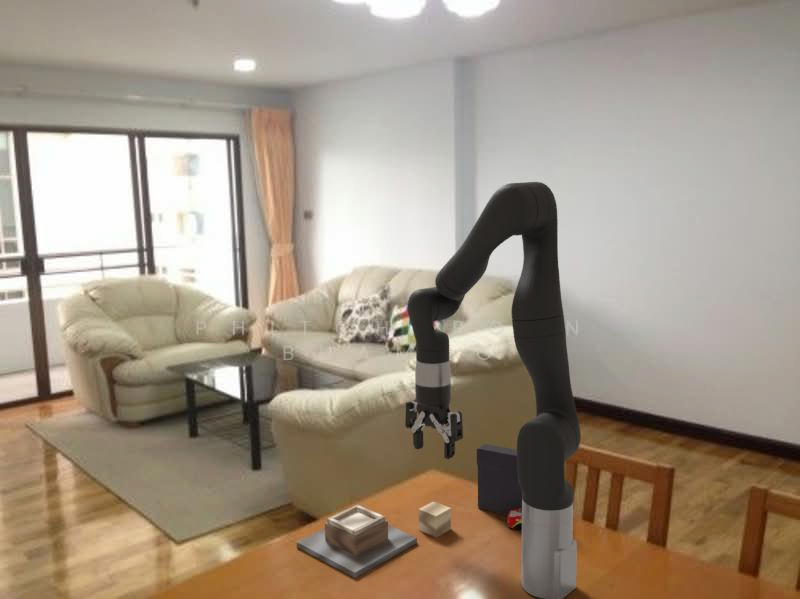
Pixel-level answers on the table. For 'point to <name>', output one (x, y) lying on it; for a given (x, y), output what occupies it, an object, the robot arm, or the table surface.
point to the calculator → (498, 479)
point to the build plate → (361, 559)
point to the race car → (515, 519)
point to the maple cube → (434, 519)
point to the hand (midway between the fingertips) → (433, 453)
